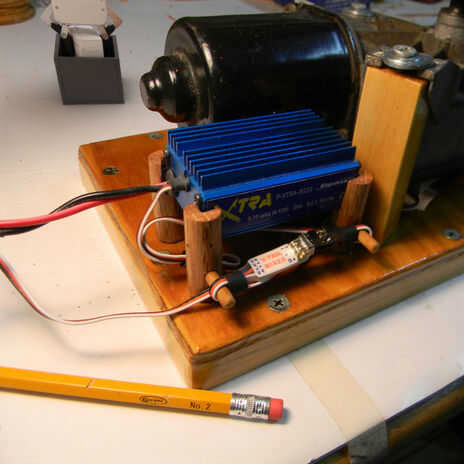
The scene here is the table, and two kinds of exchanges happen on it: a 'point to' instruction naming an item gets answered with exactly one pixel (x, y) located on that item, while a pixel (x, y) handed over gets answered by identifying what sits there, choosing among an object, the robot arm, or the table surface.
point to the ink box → (86, 41)
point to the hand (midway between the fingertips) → (88, 55)
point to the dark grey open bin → (89, 75)
